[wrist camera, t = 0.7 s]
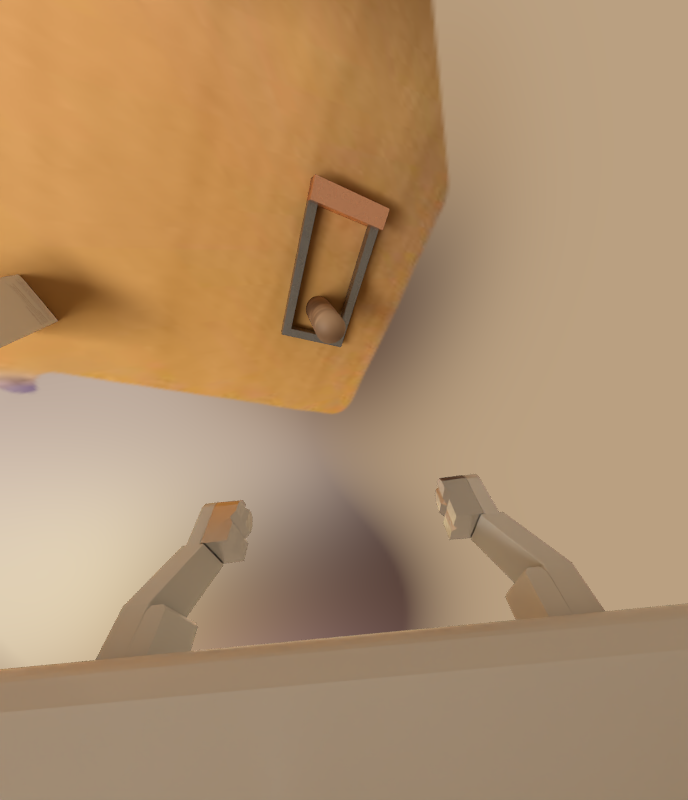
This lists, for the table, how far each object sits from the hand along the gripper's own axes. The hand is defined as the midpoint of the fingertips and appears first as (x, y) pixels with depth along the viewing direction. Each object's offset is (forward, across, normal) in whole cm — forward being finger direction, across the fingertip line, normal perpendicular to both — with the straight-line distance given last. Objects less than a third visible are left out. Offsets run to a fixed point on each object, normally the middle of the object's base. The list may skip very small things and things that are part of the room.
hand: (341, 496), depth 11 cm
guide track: (+47, +1, +1) cm, 47 cm away
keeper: (+46, +3, +6) cm, 47 cm away
